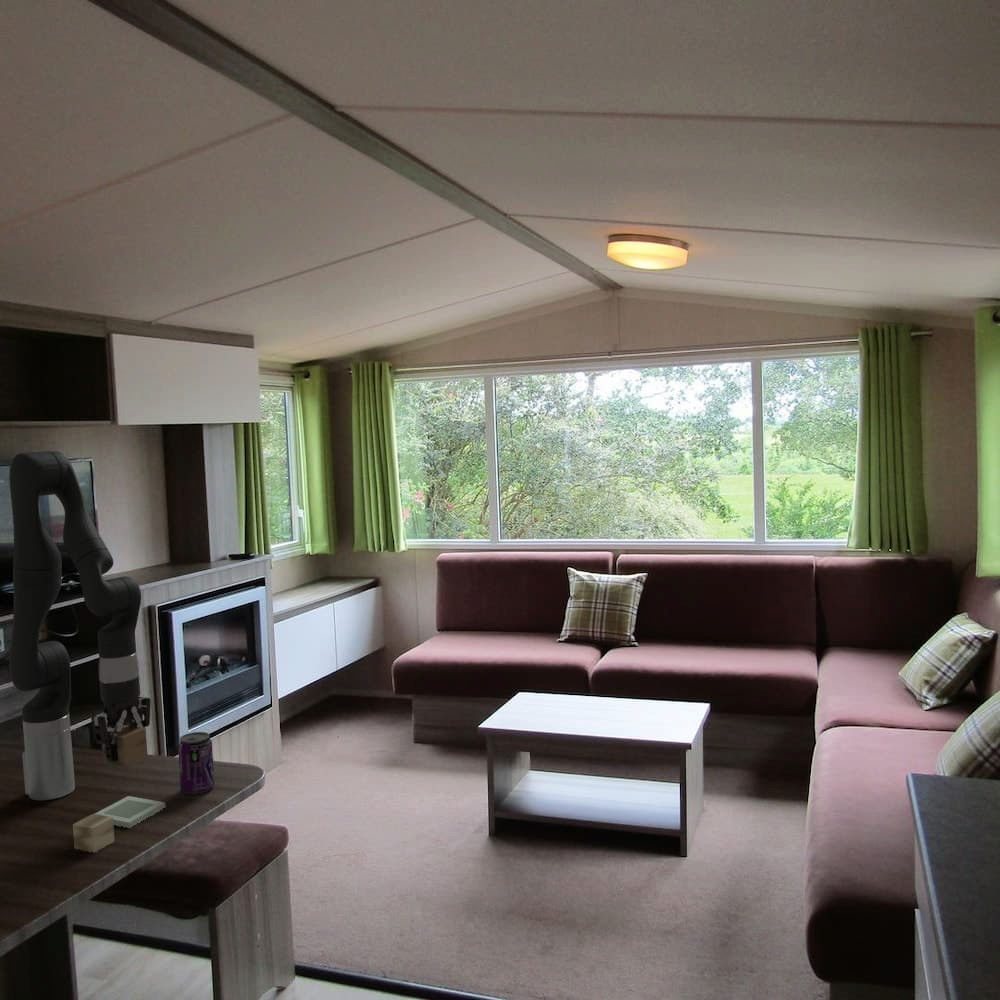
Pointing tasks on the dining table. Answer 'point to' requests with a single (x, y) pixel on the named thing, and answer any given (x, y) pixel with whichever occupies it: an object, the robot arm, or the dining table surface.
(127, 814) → the plate
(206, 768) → the beverage can
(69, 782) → the robot arm
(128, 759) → the walnut cube
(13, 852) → the dining table surface
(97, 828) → the beech cube
